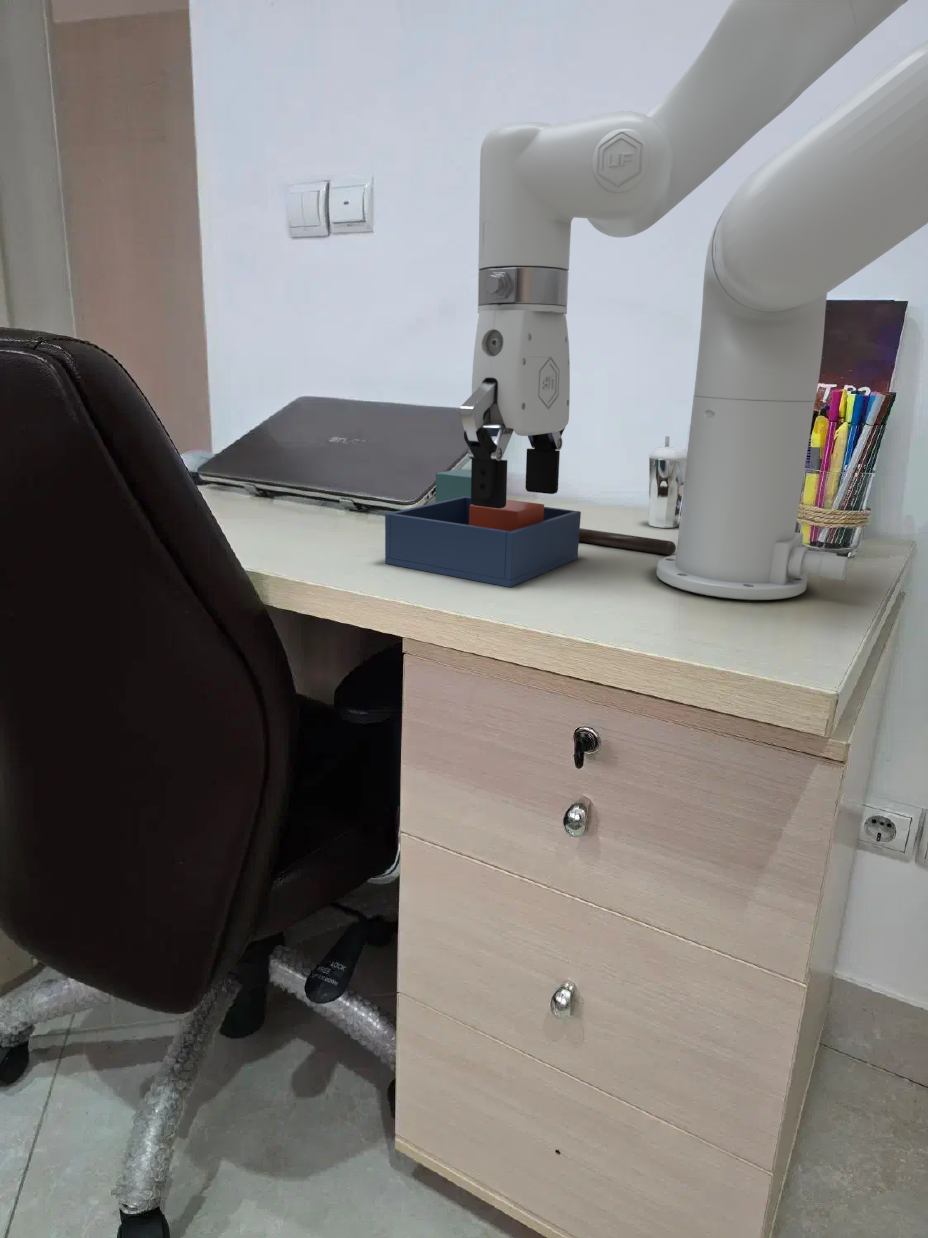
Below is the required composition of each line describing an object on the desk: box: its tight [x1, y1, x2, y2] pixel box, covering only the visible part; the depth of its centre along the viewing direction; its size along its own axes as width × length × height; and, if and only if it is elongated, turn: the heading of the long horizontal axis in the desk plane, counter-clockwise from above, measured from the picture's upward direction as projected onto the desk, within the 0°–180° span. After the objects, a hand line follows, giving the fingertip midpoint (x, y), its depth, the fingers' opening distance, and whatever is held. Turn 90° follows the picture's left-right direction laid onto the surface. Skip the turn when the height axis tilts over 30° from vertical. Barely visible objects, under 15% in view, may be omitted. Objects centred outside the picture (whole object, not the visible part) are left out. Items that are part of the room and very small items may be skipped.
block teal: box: [434, 468, 471, 503], centre depth 94 cm, size 5×5×5 cm
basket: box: [384, 496, 582, 588], centre depth 77 cm, size 13×13×5 cm
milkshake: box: [648, 435, 688, 529], centre depth 96 cm, size 5×5×10 cm
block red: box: [469, 498, 545, 531], centre depth 76 cm, size 5×5×5 cm
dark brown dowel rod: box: [579, 527, 677, 556], centre depth 89 cm, size 28×4×1 cm, turn 57°
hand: (516, 499), depth 74 cm, fingers open, 9 cm apart
